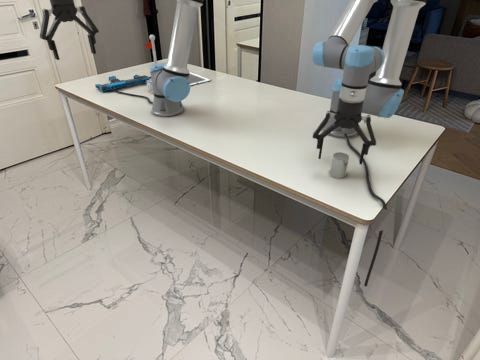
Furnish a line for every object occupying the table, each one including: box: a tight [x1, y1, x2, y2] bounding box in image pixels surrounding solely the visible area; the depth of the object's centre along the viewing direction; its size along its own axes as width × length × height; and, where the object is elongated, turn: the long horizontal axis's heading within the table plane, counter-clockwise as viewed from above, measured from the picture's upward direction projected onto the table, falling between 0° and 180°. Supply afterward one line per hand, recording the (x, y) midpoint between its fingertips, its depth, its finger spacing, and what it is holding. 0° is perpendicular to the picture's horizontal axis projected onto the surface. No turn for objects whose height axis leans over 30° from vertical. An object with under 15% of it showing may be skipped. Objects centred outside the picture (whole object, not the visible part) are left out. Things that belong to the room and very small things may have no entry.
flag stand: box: [143, 34, 158, 94], centre depth 188 cm, size 13×13×30 cm
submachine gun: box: [94, 74, 151, 92], centre depth 206 cm, size 34×4×25 cm
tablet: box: [188, 71, 212, 87], centre depth 216 cm, size 32×20×1 cm, turn 41°
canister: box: [329, 151, 350, 179], centre depth 118 cm, size 5×5×7 cm
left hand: (76, 56), depth 128 cm, fingers open, 13 cm apart
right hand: (339, 159), depth 116 cm, fingers open, 13 cm apart
